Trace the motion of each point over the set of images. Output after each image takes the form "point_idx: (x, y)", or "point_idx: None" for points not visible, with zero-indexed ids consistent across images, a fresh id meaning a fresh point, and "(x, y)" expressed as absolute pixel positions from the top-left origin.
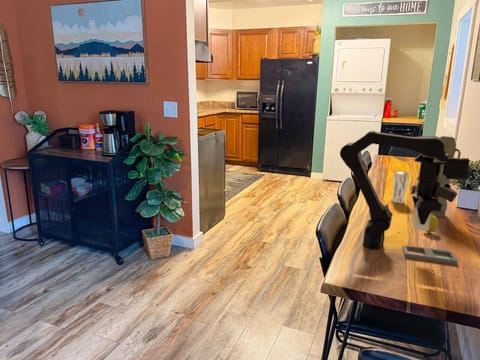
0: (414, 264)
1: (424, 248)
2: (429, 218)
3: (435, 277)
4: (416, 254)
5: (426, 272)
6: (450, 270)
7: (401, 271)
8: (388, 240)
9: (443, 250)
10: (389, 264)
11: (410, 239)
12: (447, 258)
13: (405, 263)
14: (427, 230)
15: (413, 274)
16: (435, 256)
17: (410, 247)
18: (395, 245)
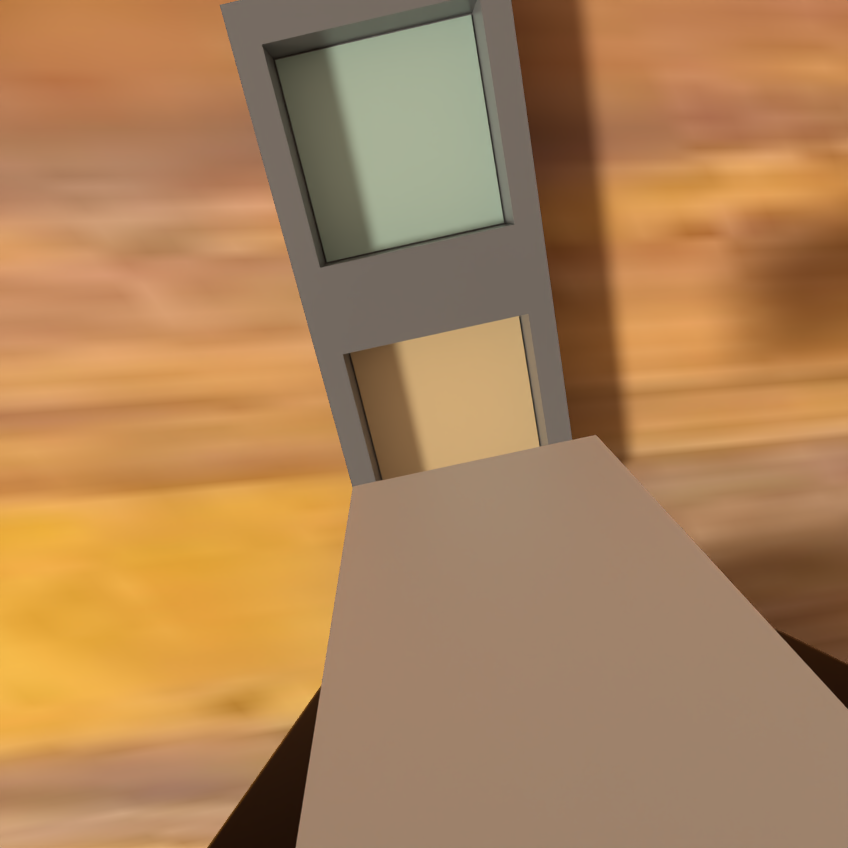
0: (633, 391)
1: (338, 343)
2: (732, 607)
3: (831, 198)
4: (552, 409)
5: (757, 281)
6: (615, 48)
7: (815, 473)
8: (212, 644)
9: (260, 125)
10: (722, 568)
11: (30, 477)
12: (493, 75)
13: (647, 461)
14: (596, 448)
15: (837, 383)
16: (389, 213)
17: (375, 474)
18: (292, 579)
